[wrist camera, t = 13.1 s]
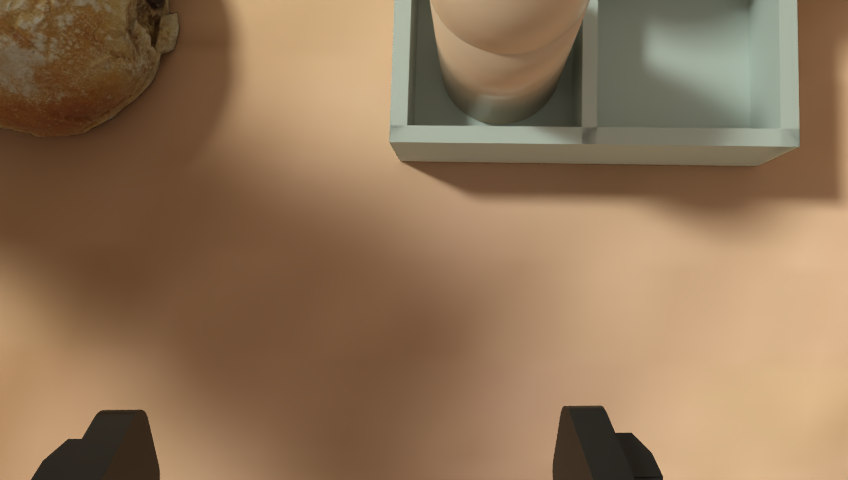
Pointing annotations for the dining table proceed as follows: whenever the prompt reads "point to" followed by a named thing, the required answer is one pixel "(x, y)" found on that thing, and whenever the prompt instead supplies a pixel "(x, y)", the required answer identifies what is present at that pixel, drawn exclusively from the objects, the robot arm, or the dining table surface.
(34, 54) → the bread roll
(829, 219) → the dining table surface
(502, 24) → the cream dome-topped cylinder
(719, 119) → the carton
